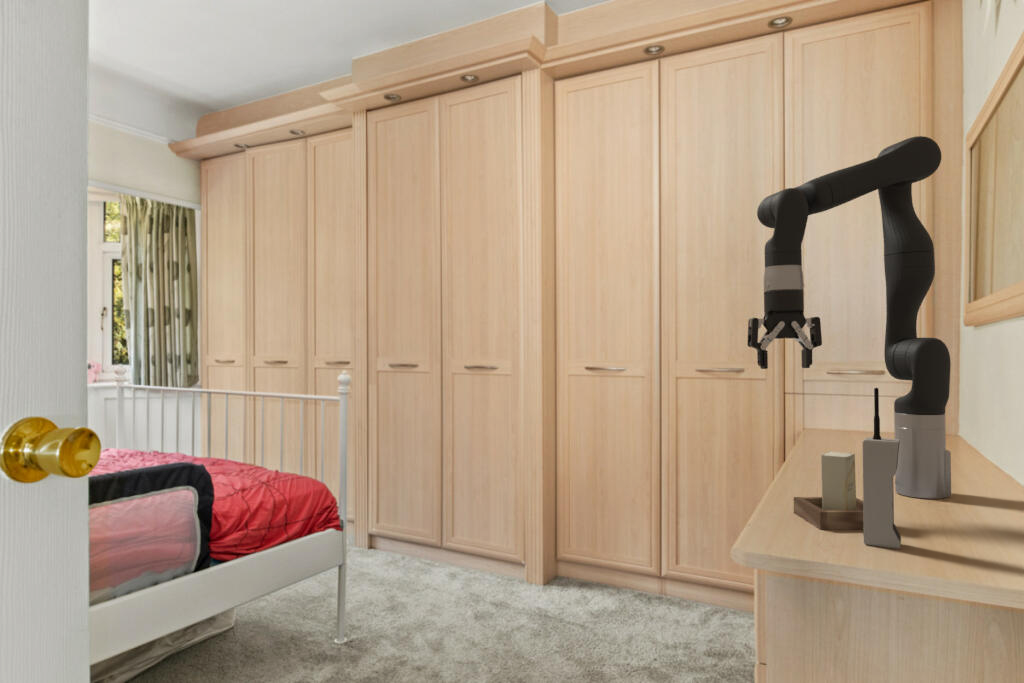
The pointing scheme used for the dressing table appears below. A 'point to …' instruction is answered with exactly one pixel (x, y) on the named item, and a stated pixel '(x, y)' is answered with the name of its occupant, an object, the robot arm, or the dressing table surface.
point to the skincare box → (838, 481)
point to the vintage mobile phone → (879, 486)
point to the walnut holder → (829, 514)
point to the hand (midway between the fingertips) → (784, 368)
